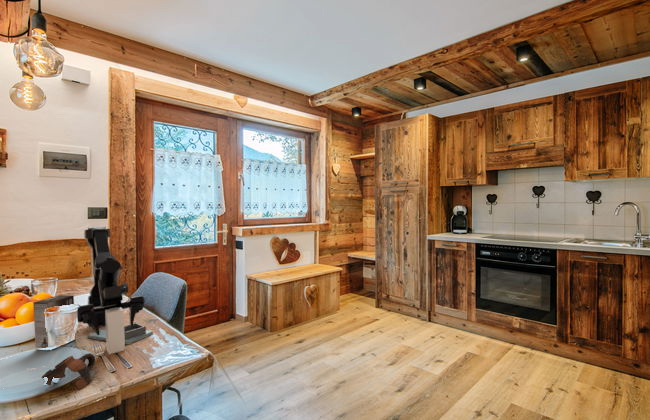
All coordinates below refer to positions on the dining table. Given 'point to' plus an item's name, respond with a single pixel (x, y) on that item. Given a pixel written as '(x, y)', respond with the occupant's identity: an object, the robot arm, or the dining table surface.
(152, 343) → the dining table surface
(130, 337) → the socket plate
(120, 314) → the block
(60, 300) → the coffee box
